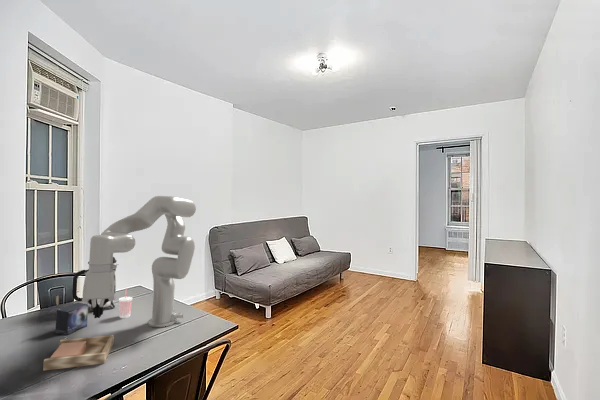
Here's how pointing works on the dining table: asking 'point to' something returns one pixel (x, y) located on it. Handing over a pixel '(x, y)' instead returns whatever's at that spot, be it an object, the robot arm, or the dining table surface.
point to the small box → (71, 318)
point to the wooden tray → (92, 355)
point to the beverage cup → (125, 306)
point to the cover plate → (70, 349)
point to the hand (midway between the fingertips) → (97, 316)
